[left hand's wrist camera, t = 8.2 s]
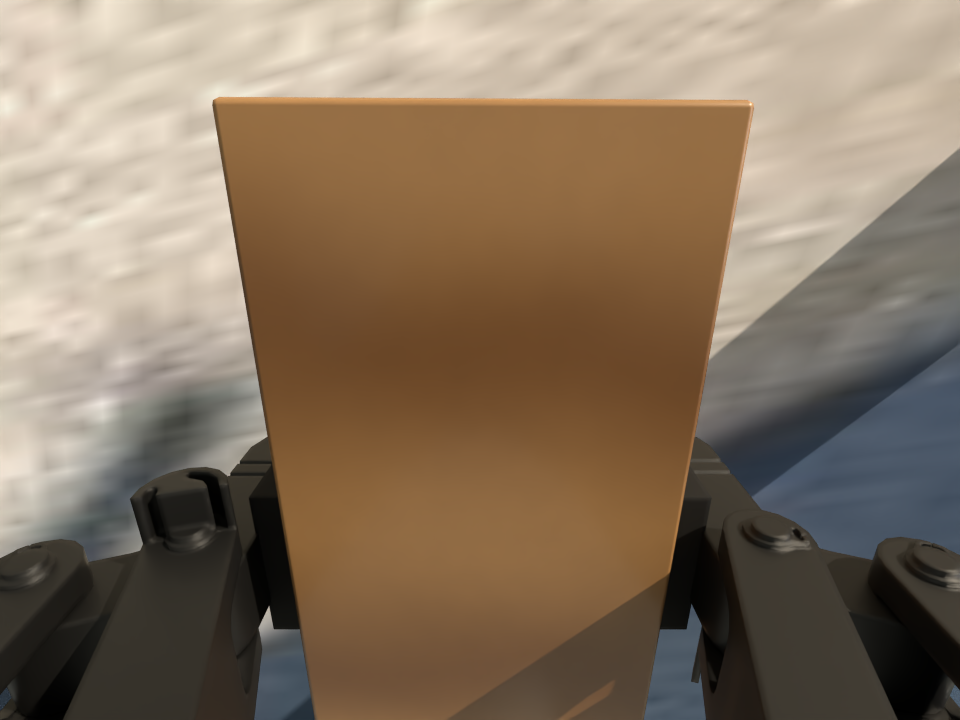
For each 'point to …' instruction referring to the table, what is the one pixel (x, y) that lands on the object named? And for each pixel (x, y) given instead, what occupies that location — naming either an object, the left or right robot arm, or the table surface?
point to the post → (481, 383)
